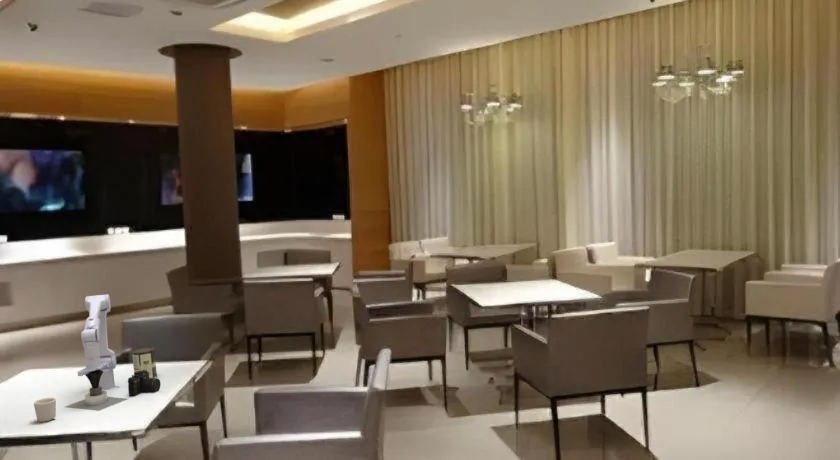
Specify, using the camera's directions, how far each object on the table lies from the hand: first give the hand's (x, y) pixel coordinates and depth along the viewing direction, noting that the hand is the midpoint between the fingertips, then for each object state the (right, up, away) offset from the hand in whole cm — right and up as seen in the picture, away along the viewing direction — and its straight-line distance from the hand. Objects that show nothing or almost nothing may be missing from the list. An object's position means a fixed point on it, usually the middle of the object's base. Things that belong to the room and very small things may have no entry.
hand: (95, 388), depth 303 cm
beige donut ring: (0, -6, 0) cm, 6 cm away
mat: (0, -7, +1) cm, 7 cm away
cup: (-13, -9, -14) cm, 21 cm away
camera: (+16, -6, +13) cm, 22 cm away
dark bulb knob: (0, -6, 0) cm, 6 cm away
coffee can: (+6, -4, +39) cm, 40 cm away
